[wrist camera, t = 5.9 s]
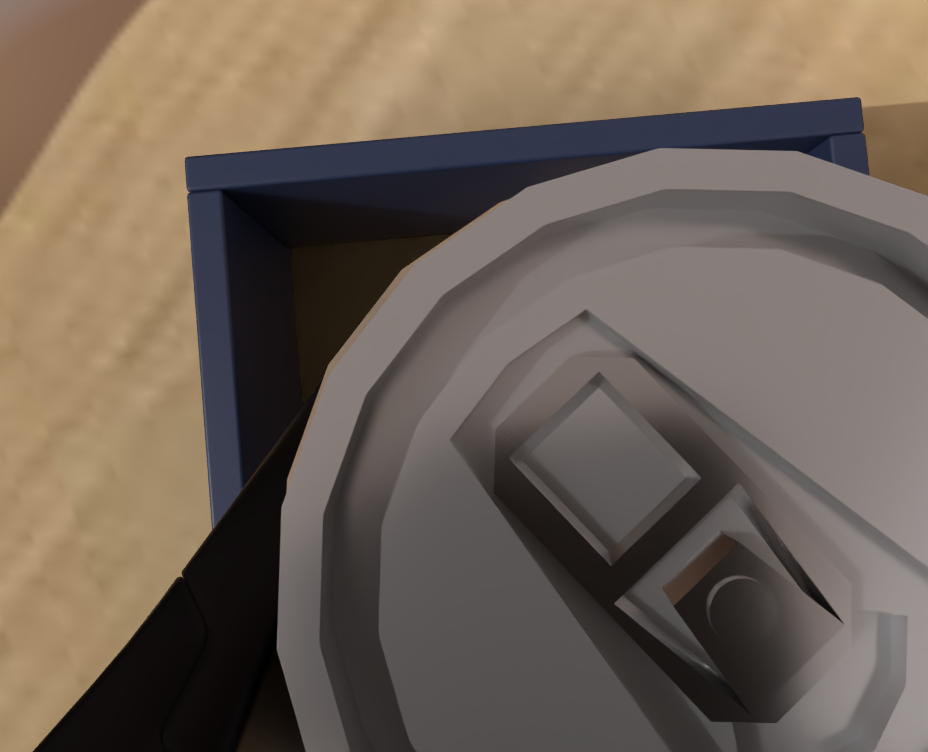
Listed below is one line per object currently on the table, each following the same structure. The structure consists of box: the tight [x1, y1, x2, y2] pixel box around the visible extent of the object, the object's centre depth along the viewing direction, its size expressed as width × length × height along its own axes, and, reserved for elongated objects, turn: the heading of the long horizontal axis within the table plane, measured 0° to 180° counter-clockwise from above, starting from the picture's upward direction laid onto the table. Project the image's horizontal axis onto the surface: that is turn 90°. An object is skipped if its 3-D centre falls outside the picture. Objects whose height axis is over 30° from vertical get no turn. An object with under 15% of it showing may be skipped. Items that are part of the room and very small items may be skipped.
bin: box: [185, 97, 869, 530], centre depth 14 cm, size 11×11×4 cm
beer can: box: [277, 148, 928, 752], centre depth 10 cm, size 5×5×12 cm
